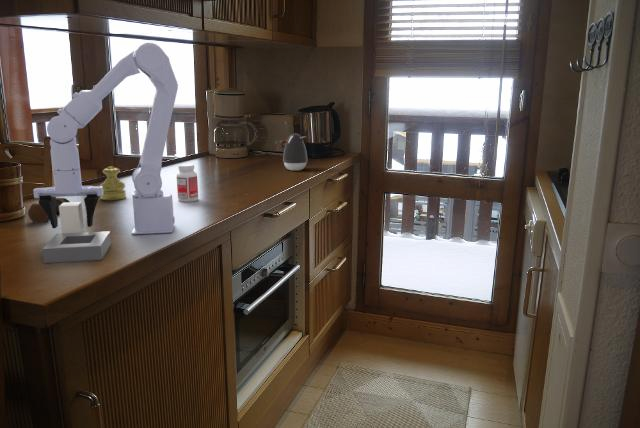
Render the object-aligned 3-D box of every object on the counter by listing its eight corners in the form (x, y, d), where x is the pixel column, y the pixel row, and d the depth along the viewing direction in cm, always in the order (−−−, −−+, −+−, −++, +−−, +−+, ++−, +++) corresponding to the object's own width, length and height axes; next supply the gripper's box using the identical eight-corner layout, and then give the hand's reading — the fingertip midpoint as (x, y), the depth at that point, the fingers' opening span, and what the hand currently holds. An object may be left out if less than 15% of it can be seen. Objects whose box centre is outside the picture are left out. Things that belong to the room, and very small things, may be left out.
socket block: (111, 244, 119) (110, 231, 119) (101, 259, 109) (100, 245, 108) (58, 246, 117) (57, 233, 116) (44, 263, 107) (42, 248, 106)
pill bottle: (198, 197, 167) (196, 163, 165) (198, 201, 162) (197, 166, 159) (177, 198, 166) (175, 163, 163) (177, 202, 160) (175, 166, 157)
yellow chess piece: (97, 198, 166) (93, 166, 163) (119, 194, 171) (117, 164, 168) (107, 202, 161) (104, 169, 158) (130, 198, 166) (127, 166, 163)
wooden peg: (85, 234, 127) (81, 201, 125) (81, 239, 123) (77, 205, 121) (67, 235, 126) (63, 202, 124) (62, 239, 122) (58, 206, 120)
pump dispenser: (300, 172, 215) (300, 134, 211) (278, 170, 219) (278, 133, 215) (312, 169, 224) (312, 132, 220) (290, 167, 228) (290, 131, 224)
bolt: (69, 215, 152) (42, 228, 137) (53, 207, 151) (24, 218, 137) (77, 198, 151) (51, 209, 136) (61, 189, 150) (33, 199, 136)
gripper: (103, 165, 126) (108, 220, 129) (37, 167, 123) (44, 223, 126) (97, 170, 119) (103, 228, 122) (27, 172, 116) (35, 231, 120)
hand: (72, 226), depth 124 cm, fingers open, 7 cm apart
